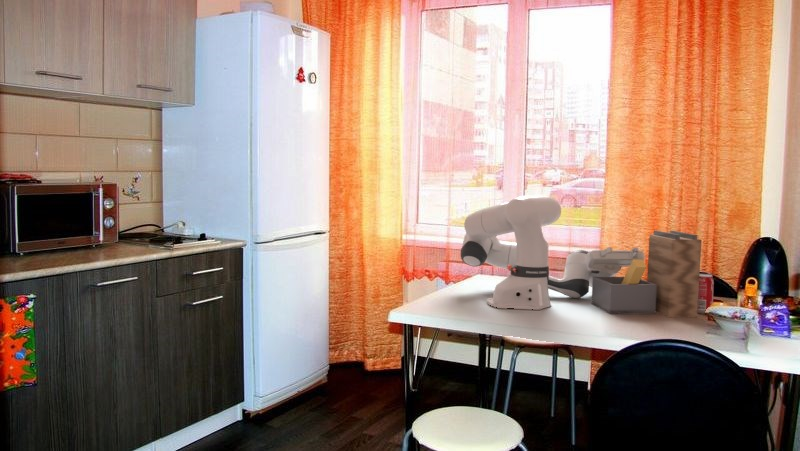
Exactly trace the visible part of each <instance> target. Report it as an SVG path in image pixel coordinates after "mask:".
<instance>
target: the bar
mask: <svg viewBox="0 0 800 451" xmlns="http://www.w3.org/2000/svg"><path fill="white" fill-rule="evenodd" d="M646 269H647V265H646V263H645V260H643V259H633V260H632V262H631V265H630V267H628V269H627V271H626V273H625V276H623V277H624V279H623V281H622V283H621V284H638V283H639V281H640V279H642V278H643V276H644V274H645V271H646Z"/></svg>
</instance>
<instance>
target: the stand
mask: <svg viewBox="0 0 800 451" xmlns="http://www.w3.org/2000/svg"><path fill="white" fill-rule="evenodd" d="M648 237H649V238H648V256H647V258H648V259H647V274H646V276H647V277H646V281H648V282H651V283H653V284H656V285H657V290H656V309H655V313H658V314H660V315H662V316H665V317H667V318H697V317H698V313H697V308H698V291H699V274H701V272H700V271H701V256H702V255H701V253H702V239H699V238H698V235H697V234H694V233H689V232H682V231H677V230H669V232H668V231H667V232H666V231H662V230H653V234H649V236H648Z"/></svg>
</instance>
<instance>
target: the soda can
mask: <svg viewBox="0 0 800 451" xmlns="http://www.w3.org/2000/svg"><path fill="white" fill-rule="evenodd" d="M714 281H715V280H714V278H713V275H712V274H710V273H700V274H699V291H698V308H697V314H705V311H706V309H707V308H708V307H709V306H710V305H711V304H712V303H713V304H714V289H715V288H714V287H715V286H714V285H715V282H714ZM705 315H706V314H705Z"/></svg>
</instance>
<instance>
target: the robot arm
mask: <svg viewBox="0 0 800 451" xmlns="http://www.w3.org/2000/svg"><path fill="white" fill-rule="evenodd" d="M561 214H562V207H561V204H560V202H559V201H558V200H557V199H556V198H554V197H551V196H548V195H521V196H518V197H515V198H513V199H511V200H510V201H508V202H503V203H499V204H496V205H491V206H489V207H485V208H481V209H478V210H477V211H474V212H473V213H471V214H468V216H466V218H465V219H464V224H463V226H464V230H465V232H466V233H465V235H464V238H463V242H462V246H461V248H460V259H461V262H463V263H464V264H466V265H467V266H469V267H475V268H477V267H481V266H483V265H484V264H485V263H486V264H488V265H491V266H492V267H496V268H499V269H504V270H508V271H509V272H510V275H508V276H507V277H506V278H504V279H503V280H501V281H500V282H499V283H497V284H496V286H495V287H494V291H493V297H488V298H487V300H486V303H487V305H489V306H490V305H491V307H492V306H494V307H493V308H496V307H497V308H496V309H507V308H514V309H513V310H532V309H533V310H534V311H535V310H537V311H540V310H543V309H546V308H549V307H551V306H552V303H551V299H550V295H549V294H550V293H549V290H552V291H554V292H558V293H561V294H563V295H564V296H566V297H569V298H572V299H581V298H583V297H585V296H586V295H587V294H588V293H589V291H590V287H591V288H592V284H593V277H616V275H617V274H618V273H619V272H620V271H622V270H621V269H622V267H628V268H629V267H630V265H631V262H632V260H633V259H643V260H644V261H645V260H646V258H645V257H646V256H645V252H644V251H643V250H639V247H632V249H631V250H626V249H625V250H624V249H623V250H620V249H619V250H618V249H617V250H613V247H610V246H609V247H606V248H605V249H598V250H597V249H591V250H590V251H587V250H585V249H584V250H583V249H577V250H574V251H571V252H569V253H568V254H567V255H566V260H565V264H564V272H563V275H562V276H563V277H562V278H558V277H555V276H552V275H550V266H549V243H548V242H547V240H546V239H545V237H544V233H543V230H542V227H547V226H550V225H552V224H554V223H556V222H557V221H558V220H559V219H560V217H561ZM509 233H514V236H515V241H516V242H513V241H505V240H500V239H499V238H498V237H497V236H501V235H506V234H509Z"/></svg>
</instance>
